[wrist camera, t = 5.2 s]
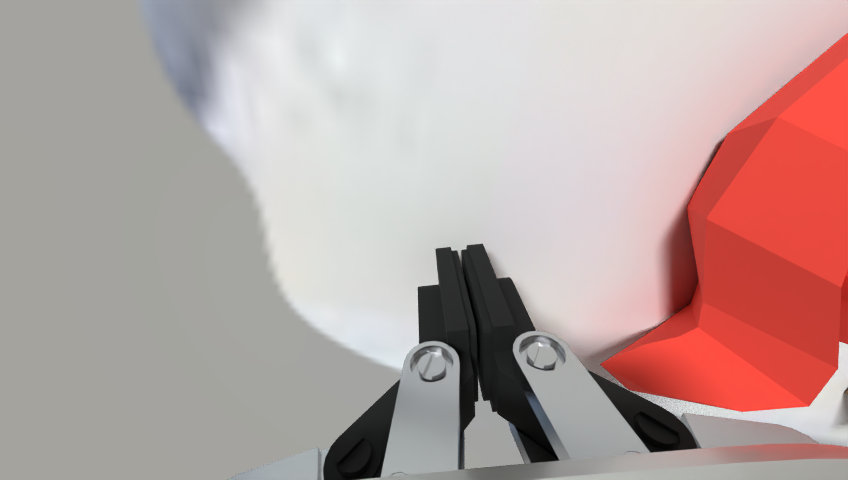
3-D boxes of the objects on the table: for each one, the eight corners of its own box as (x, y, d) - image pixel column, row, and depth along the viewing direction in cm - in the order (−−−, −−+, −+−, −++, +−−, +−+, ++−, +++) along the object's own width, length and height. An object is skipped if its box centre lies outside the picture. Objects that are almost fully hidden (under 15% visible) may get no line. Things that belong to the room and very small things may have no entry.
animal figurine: (537, 326, 15) (589, 440, 10) (842, -97, 8) (1419, -314, 3) (726, 376, 17) (838, 489, 12) (1100, 79, 10) (1664, 92, 5)
